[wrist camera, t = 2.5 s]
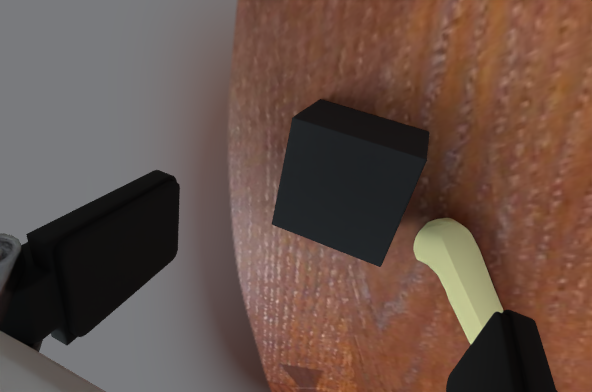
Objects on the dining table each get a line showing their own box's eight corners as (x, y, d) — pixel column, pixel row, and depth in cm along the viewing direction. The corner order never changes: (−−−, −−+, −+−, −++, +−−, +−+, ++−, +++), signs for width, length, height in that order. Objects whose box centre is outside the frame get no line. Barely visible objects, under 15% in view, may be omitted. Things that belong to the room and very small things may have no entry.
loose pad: (298, 191, 18) (271, 224, 15) (319, 98, 16) (292, 116, 13) (390, 225, 17) (380, 267, 14) (429, 131, 15) (427, 159, 12)
